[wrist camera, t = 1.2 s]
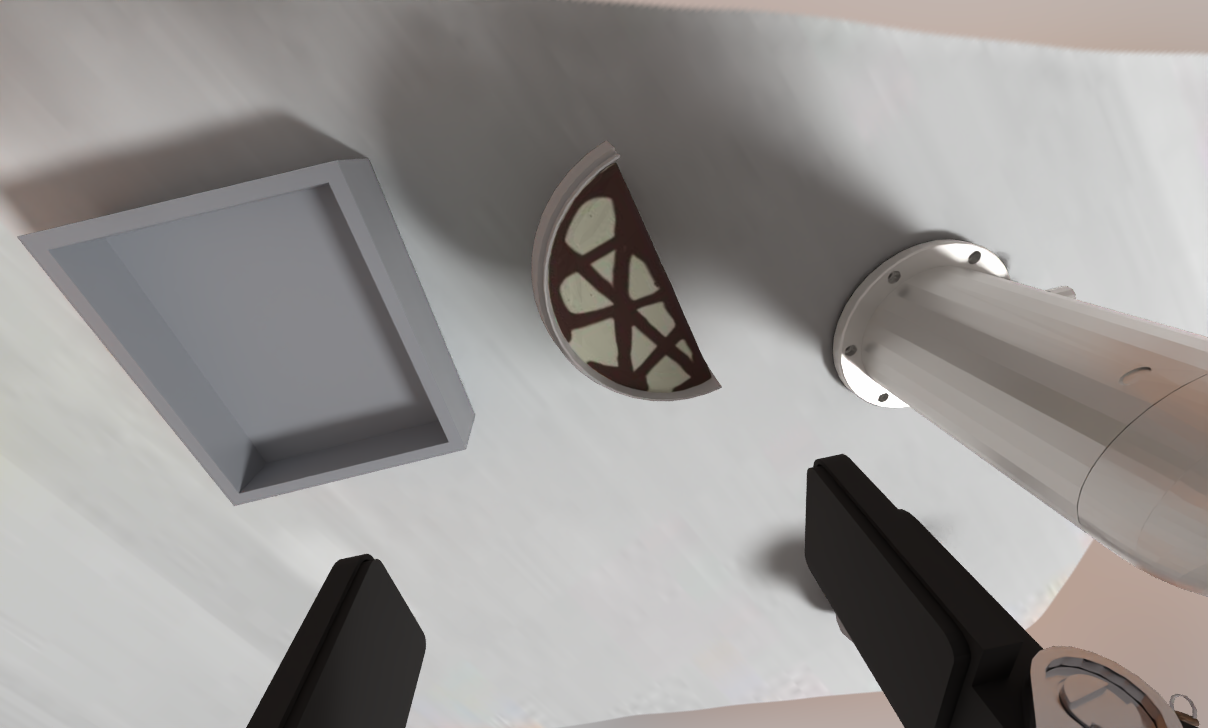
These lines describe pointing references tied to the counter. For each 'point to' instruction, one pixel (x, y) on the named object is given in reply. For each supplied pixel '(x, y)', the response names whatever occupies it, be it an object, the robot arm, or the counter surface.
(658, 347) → the food container
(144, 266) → the grey bin
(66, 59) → the counter surface
